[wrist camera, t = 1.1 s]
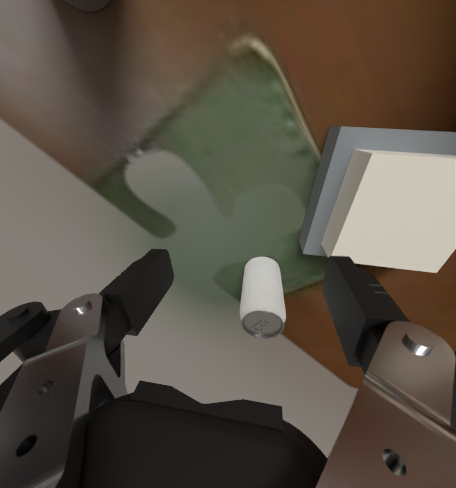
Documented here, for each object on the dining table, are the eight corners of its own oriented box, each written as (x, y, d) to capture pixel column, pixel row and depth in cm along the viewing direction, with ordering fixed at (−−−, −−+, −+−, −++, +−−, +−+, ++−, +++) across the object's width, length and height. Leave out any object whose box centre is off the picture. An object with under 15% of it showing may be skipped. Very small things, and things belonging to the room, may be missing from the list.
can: (287, 265, 35) (298, 323, 24) (267, 287, 38) (269, 346, 28) (256, 249, 34) (254, 301, 24) (238, 273, 37) (229, 328, 27)
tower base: (298, 240, 32) (308, 271, 25) (329, 126, 23) (357, 126, 17) (403, 251, 30) (444, 287, 23) (477, 134, 22) (575, 137, 15)
